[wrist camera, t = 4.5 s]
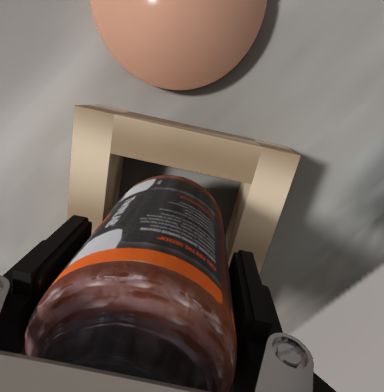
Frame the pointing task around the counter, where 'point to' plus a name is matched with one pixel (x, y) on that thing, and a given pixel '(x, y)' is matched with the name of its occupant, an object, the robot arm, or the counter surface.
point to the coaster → (178, 37)
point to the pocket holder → (184, 159)
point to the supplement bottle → (146, 292)
